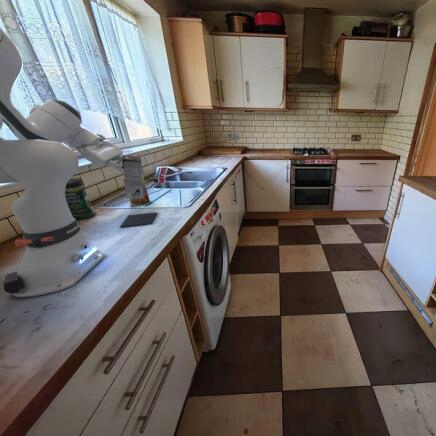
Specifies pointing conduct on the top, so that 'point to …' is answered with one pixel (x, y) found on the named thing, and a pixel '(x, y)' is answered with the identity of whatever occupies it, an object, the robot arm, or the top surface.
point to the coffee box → (133, 176)
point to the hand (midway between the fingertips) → (125, 167)
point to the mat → (139, 219)
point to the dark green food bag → (78, 199)
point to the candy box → (140, 200)
